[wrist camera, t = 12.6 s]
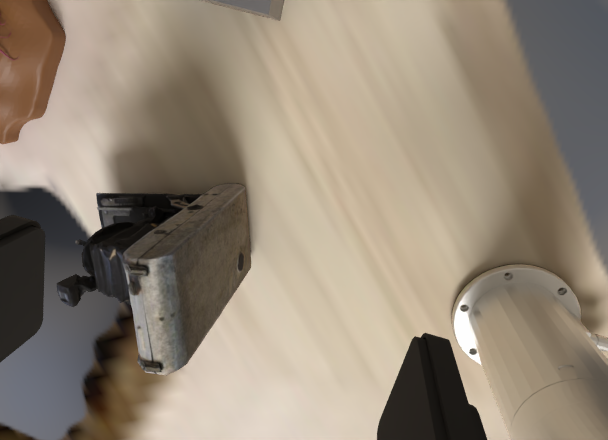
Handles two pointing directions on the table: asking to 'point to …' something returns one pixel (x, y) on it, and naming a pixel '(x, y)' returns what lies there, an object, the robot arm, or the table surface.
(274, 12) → the grey hollow block
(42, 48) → the plant
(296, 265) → the table surface
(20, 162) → the table surface
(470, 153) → the table surface
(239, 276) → the vintage camera
